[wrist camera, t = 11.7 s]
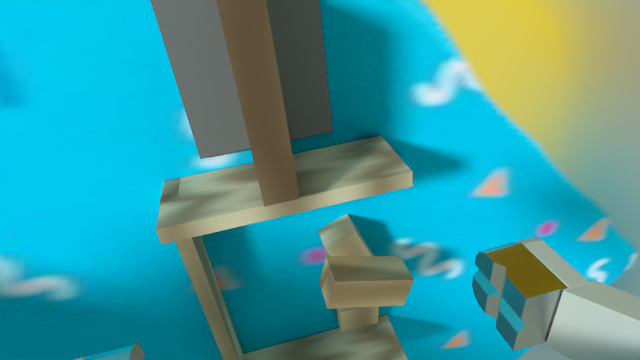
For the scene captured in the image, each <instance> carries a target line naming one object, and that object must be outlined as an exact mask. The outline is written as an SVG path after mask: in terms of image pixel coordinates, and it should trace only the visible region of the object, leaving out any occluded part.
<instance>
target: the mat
mask: <svg viewBox="0 0 640 360" xmlns="http://www.w3.org/2000/svg"><path fill="white" fill-rule="evenodd" d="M266 2H267V8H268V14H269V20H270V25H271V31H272V37H273V43H274V49H275V55H276V61H277V66H278V72H279V78H280V84H281V90H282V96H283V102H284V108H285V113H286V119H287V125H288V131H289V137H290V140H294V139H299V138H304V137H309V136H314V135H319V134H324V133H328V132H333V129H332V119H331V110H330V100H329V91H328V81H327V71H326V62H325V52H324V43H323V33H322V23H321V14H320V4H319V0H266ZM151 3H152V6H153V10H154V13H155V16H156V19H157V22H158V25H159V29H160V32H161V35H162V38H163V41H164V44H165V48H166V51H167V54H168V57H169V60H170V63H171V67H172V70H173V73H174V76H175V79H176V82H177V86H178V89H179V92H180V95H181V98H182V101H183V105H184V108H185V111H186V114H187V117H188V120H189V124H190V127H191V130H192V133H193V136H194V139H195V143H196V146H197V149H198V152H199V155H200V158H201V159H202V158H207V157H212V156H217V155H222V154H226V153H231V152H236V151H241V150H246V149H251V147H250V143H249V139H248V134H247V130H246V126H245V121H244V117H243V113H242V109H241V104H240V100H239V96H238V91H237V87H236V83H235V79H234V74H233V70H232V66H231V61H230V57H229V53H228V49H227V44H226V40H225V36H224V31H223V27H222V23H221V19H220V14H219V10H218V6H217V1H216V0H151Z"/></svg>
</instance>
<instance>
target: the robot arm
mask: <svg viewBox="0 0 640 360" xmlns="http://www.w3.org/2000/svg"><path fill="white" fill-rule="evenodd" d="M475 264H476V266H477V267H478V268H479V270H478V271H477V272H476V273H475V275H474V276H473V283H472V287H473V291H474V295H475V298H476V300H477V302H478V304H479V305H480V307H481V308H482V310H483V311H484V312H485V313H486V314H488V315H490V316H492V317H494V318H496V329H497V330H498V331H499V333H500V334H501V335H502V337H503V338H504V339H505V341H506V342H507V343H508V345H509V346H510V347H511V349H512V350H513V351H515V350H518V349H522V348H526V347H529V346H533V345H537V344H540V343H544V342H546V344H547V345H549V346H550V347H552V348H554V349H555V350H557V351H559V352H560V353H562V354H563V355H565V356H567V357H568V358H570V359H572V360H640V297H637V296H634V295H632V294H629V293H627V292H624V291H621V290H619V289H616V288H613V287H611V286H608V285H606V284H603V283H600V282H598V281H595V280H594V281H590V282H589V281H588V280H586V279H585V278H584V277H583V276H582V275H581V274H580V273H579V272H577V271H576V270H575V269H574V268H573V267H572V266H571V265H570V264H568V263H567V262H566V261H565V260H564V259H563V258H562V257H560V256H559V255H558V254H557V253H556V252H555V251H554V250H553V249H551V248H550V247H549V246H548V245H547V244H546V243H545V242H544V241H542V240H541V239H539V238H537V237H532V238H528V239H525V240H521V241H517V242H512V243H509V244H505V245H502V246H498V247H495V248H491V249H488V250H484V251H480V252H479V253H478V254H477V255H476V259H475ZM144 355H145V353H144V351H143V350H142V348H141V347H140V345H139V344H135V345H131V346H126V347H122V348H118V349H114V350H110V351H106V352H101V353H97V354H93V355H89V356H86V357H82V358H78V359H74V360H144Z"/></svg>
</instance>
